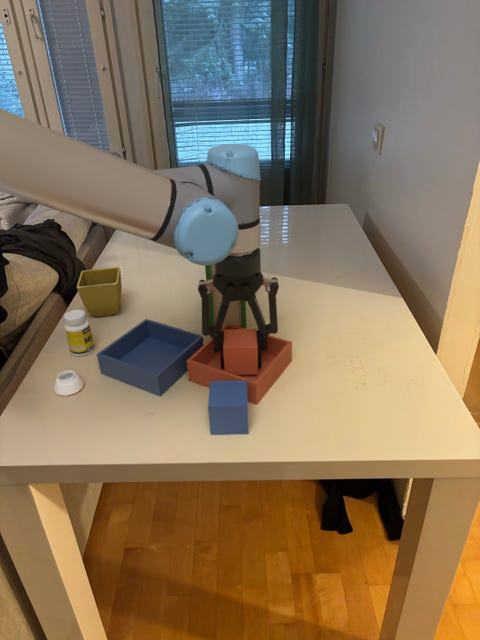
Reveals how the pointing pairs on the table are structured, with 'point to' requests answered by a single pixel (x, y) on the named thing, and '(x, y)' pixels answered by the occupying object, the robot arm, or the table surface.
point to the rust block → (240, 351)
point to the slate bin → (150, 356)
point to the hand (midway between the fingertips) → (241, 363)
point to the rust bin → (208, 369)
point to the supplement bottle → (78, 333)
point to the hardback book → (235, 309)
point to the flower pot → (100, 291)
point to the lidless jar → (68, 383)
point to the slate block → (228, 407)
